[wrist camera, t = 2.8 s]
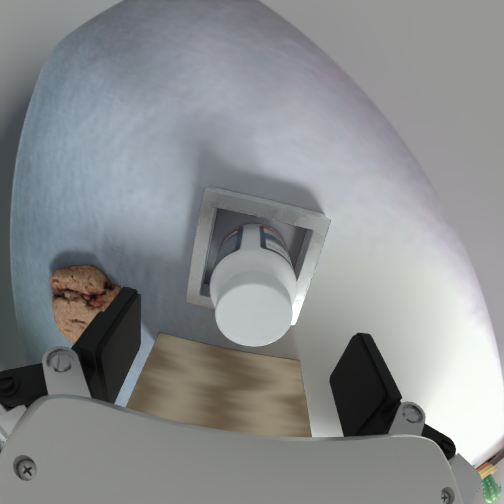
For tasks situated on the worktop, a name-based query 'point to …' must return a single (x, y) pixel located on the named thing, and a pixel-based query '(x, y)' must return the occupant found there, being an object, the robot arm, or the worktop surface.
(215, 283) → the pill bottle
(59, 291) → the cookie
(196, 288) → the collar
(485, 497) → the potted cactus
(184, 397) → the beige brown upright block
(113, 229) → the worktop surface
